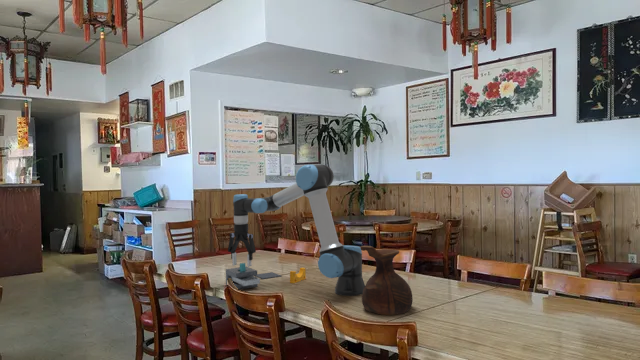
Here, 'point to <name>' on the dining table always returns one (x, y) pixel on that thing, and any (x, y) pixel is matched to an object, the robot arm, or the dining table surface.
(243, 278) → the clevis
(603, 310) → the dining table surface
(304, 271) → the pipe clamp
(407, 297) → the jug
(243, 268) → the pin
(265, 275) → the mat
